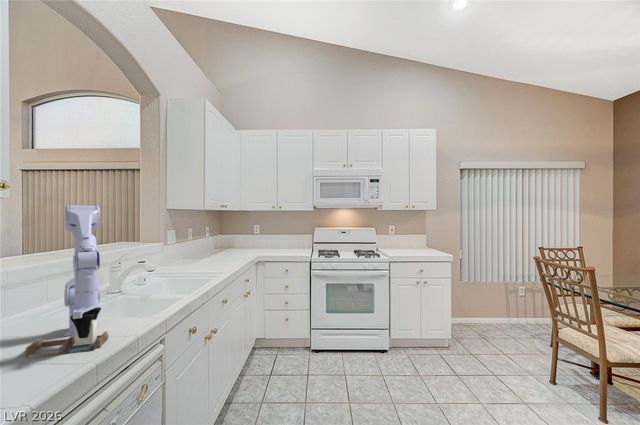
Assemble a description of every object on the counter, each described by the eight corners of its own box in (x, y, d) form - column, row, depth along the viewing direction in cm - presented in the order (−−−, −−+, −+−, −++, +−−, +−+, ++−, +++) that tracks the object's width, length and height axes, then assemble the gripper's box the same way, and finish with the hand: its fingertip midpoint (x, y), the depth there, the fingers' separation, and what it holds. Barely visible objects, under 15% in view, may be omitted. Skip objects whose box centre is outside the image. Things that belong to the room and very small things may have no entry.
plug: (79, 340, 96) (79, 317, 96) (96, 338, 98) (97, 316, 98) (75, 344, 93) (75, 321, 93) (92, 342, 94) (93, 319, 94)
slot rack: (40, 345, 95) (40, 337, 95) (108, 338, 101) (108, 330, 101) (23, 358, 86) (23, 349, 86) (98, 349, 92) (98, 341, 92)
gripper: (80, 286, 101) (80, 328, 101) (59, 297, 87) (59, 346, 87) (105, 285, 103) (105, 326, 103) (89, 295, 90) (89, 342, 89)
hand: (86, 335), depth 95 cm, fingers closed on plug, 3 cm apart
